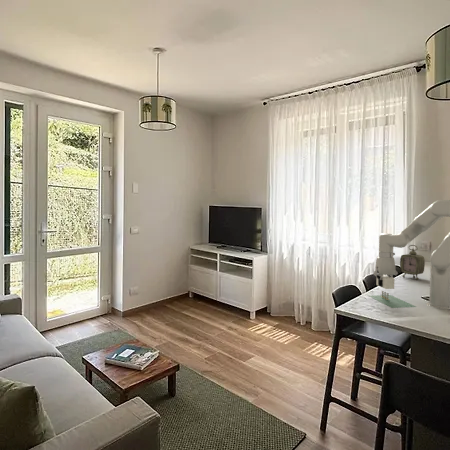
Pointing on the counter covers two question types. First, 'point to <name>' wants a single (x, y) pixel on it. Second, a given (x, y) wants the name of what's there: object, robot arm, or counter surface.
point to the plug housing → (387, 282)
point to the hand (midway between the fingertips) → (385, 285)
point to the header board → (391, 301)
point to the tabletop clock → (412, 263)
